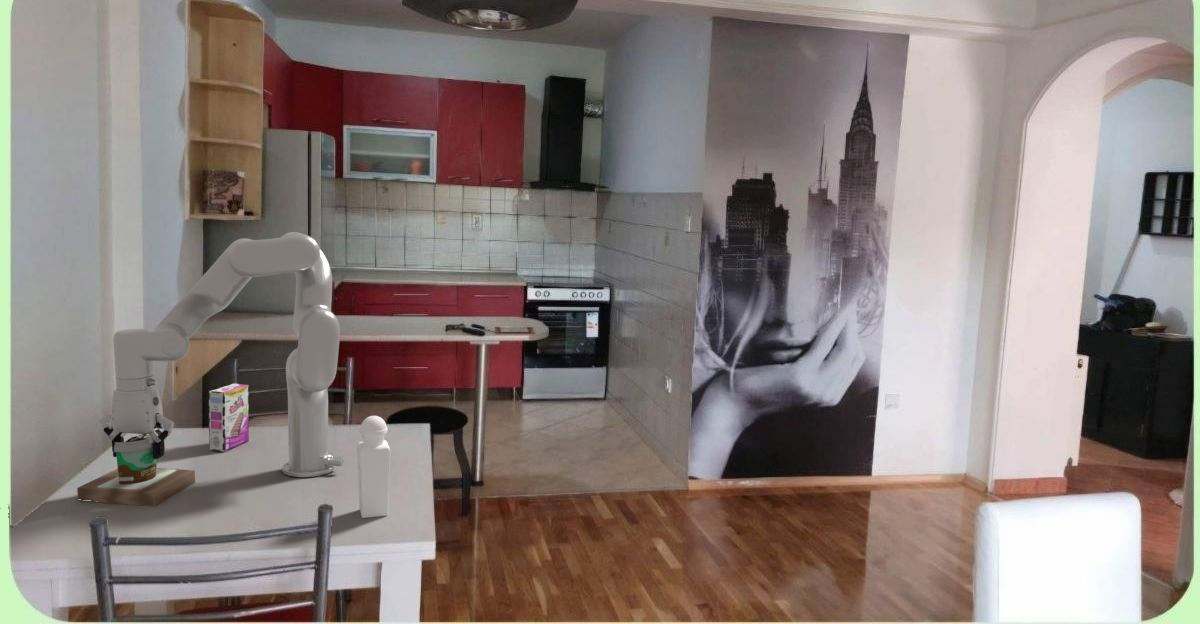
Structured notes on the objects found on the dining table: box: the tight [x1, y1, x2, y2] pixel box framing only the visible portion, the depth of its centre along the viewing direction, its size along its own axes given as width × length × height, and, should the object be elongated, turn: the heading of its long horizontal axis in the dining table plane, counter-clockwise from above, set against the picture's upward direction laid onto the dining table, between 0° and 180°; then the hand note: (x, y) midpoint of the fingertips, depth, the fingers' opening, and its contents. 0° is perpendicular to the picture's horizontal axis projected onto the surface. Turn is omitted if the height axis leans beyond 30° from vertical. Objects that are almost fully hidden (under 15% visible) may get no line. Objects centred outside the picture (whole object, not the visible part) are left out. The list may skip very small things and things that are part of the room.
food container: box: [114, 434, 158, 484], centre depth 197 cm, size 12×6×10 cm, turn 176°
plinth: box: [76, 467, 196, 507], centre depth 197 cm, size 18×16×3 cm
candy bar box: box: [208, 383, 250, 453], centre depth 233 cm, size 11×5×16 cm, turn 169°
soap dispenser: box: [356, 415, 391, 519], centre depth 188 cm, size 6×6×22 cm
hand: (138, 456), depth 197 cm, fingers open, 9 cm apart
